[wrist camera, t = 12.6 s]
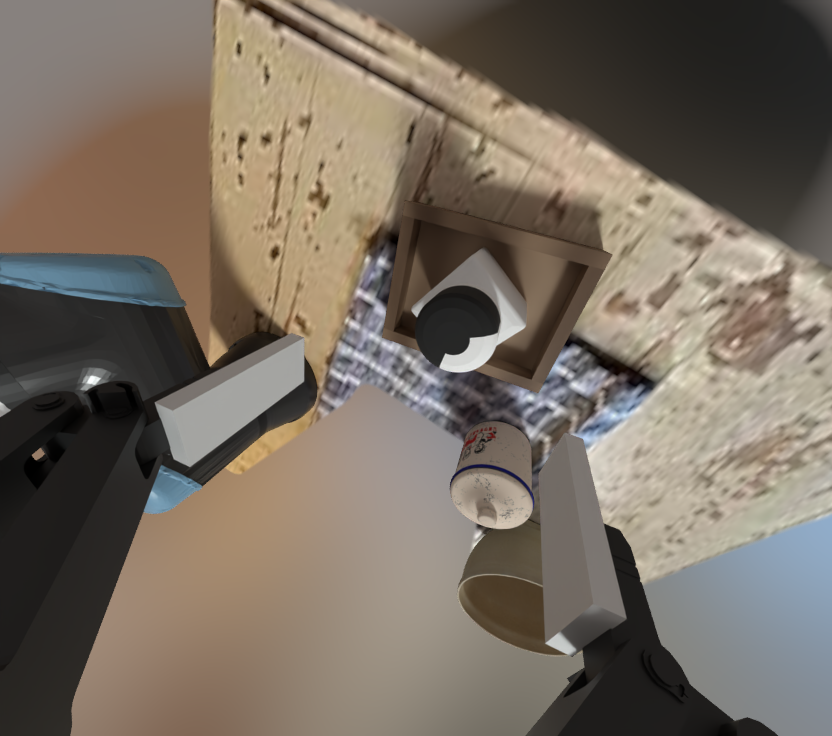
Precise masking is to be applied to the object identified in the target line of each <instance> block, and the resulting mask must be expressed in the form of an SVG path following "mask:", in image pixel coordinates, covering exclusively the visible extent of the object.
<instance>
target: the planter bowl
mask: <svg viewBox="0 0 832 736" xmlns="http://www.w3.org/2000/svg"><path fill="white" fill-rule="evenodd" d="M457 597H458V601H459V603H460V606H461V607H462V609H463V611H464V612H465V613H466V615H467V616H468V617H469V618H470V619H471V620H472V621H473V622H475V623H476V624H477V625H478V626H479V627H480V628H482V629H483V630H484V631H486V632H487V633H489V634H490V635H492V636H493V637H495V638H497V639H499V640H500V641H503V642H504V643H507V644H509V645H511V646H514V647H517V648H520V649H522V650H525V651H529V652H532V653H536V654H541V655H547V656H569V655H567V654H565V653H563V652H561V651H559V650H557V649H555V648H553V647H551V646H549V645H547V644H545V625H544V600H543V575H542V550H541V525H539V524H537V523H535V522H532V521H529V520H526V521H525V522H524V523H523V524H521V525H519V526H517V527H514V528H509V529H494V528H492V531H490V532H489V533H488V534H486V535H485V536H484V537H483V538H482V539H481V540H480V541H479V542H478V543H477V545H476V546H475V547H474V549H473V551H472V552H471V554H470V556H469V558H468V560H467V563H466V565H465V569H464V572H463V576H462V579H461V580H460V583H459V586H458V591H457ZM582 652H583V650H581V651H580V652H578V653H577V654H580V653H582Z"/></svg>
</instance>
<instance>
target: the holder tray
mask: <svg viewBox="0 0 832 736" xmlns="http://www.w3.org/2000/svg"><path fill="white" fill-rule="evenodd" d="M483 247H485V248H487V249H488V250H489V252H490V253H491V255H492V256H493V257H494V259H495V260H496V261H497V263H498V264H499V265H500V267H501V268H502V270H503V271H504V272H505V274H506V275H507V276H508V278H509V279H510V280H511V282H512V283H513V285H514V286H515V287H516V289H517V290H518V291H519V293H520V294H521V295H522V297H523V298H524V300H525V301H526V302H527V318H526V327H525V328H524V329H522V330H521V331H519V332H518V333H516V334H514V335H513V336H511V337H510V338H508V339H506V340H505V341H503V342H502V343H500V344H498V345H497V346H496V348H495V350H494V352H493V354H492V356H491V357H490V358H489V360H488V361H487V362H486V363H484V364H483V365H482V366H480V367H478V368H477V369H474V371H477V372H480V373H483V374H486V375H488V376H491V377H494V378H497V379H500V380H502V381H505V382H508V383H511V384H514V385H516V386H519V387H522V388H525V389H528V390H530V391H533V392H536V393H539V391H540V389H541V387H542V385H543V383H544V381H545V380H546V378H547V376H548V374H549V372H550V370H551V368H552V367H553V365H554V363H555V361H556V359H557V357H558V355H559V354H560V352H561V350H562V348H563V346H564V344H565V342H566V340H567V339H568V337H569V335H570V333H571V331H572V329H573V327H574V326H575V324H576V322H577V320H578V318H579V316H580V314H581V313H582V311H583V309H584V307H585V305H586V303H587V301H588V300H589V298H590V296H591V294H592V292H593V290H594V288H595V287H596V285H597V283H598V281H599V279H600V277H601V275H602V274H603V272H604V270H605V268H606V266H607V264H608V262H609V260H610V259H611V257H612V254H610V253H608V252H606V251H604V250H601V249H597V248H593V247H589V246H585V245H582V244H578V243H574V242H570V241H566V240H562V239H558V238H555V237H551V236H547V235H543V234H539V233H535V232H532V231H528V230H524V229H520V228H516V227H512V226H508V225H505V224H501V223H497V222H493V221H489V220H485V219H481V218H478V217H474V216H470V215H466V214H462V213H458V212H454V211H451V210H447V209H443V208H439V207H435V206H431V205H428V204H424V203H420V202H414V201H405V203H404V209H403V215H402V221H401V227H400V233H399V239H398V245H397V251H396V257H395V263H394V269H393V275H392V281H391V287H390V293H389V299H388V305H387V311H386V317H385V323H384V329H383V335H382V338H385V339H388V340H390V341H393V342H396V343H399V344H402V345H404V346H407V347H410V348H413V349H416V350H418V351H420V349H419V347H418V344H417V341H416V337H415V323H416V319H417V317H416V316H415V315H414V314H413V312H412V311H411V308H412V306H413V305H414V304H416V303H417V302H418V301H419V300H420V299H421V298H423V297H424V296H425V295H426V294H427V293H428V292H430V291H431V290H432V289H433V288H434V287H435V286H437V285H438V284H439V283H440V282H441V281H442V280H444V279H445V278H446V277H447V276H448V275H449V274H451V273H452V272H453V271H454V270H455V269H456V268H458V267H459V266H460V265H461V264H462V263H463V262H465V261H466V260H467V259H468V258H469V257H470V256H472V255H473V254H475V253H476V252H477V251H479V250H480V249H481V248H483Z"/></svg>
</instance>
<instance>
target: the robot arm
mask: <svg viewBox="0 0 832 736" xmlns="http://www.w3.org/2000/svg"><path fill="white" fill-rule="evenodd" d="M184 306H186V303H185V301H184V300H183V299H181V297H180V295H179V293H178V291H177V289H176V287H175V285H174V283H173V280H172V278H171V276H170V275H169V272H168V271H167V270H166V268H165V267H164V266H163V265H162V264H160V263H159V262H157V261H156V260H153V259H151V258H148V257H145V256H136V255H116V254H79V253H78V254H77V253H0V736H70V734H71V728H72V715H71V714H72V713H71V708H72V702H73V699H74V695H75V692H76V689H77V687H78V684H79V681H80V679H81V676H82V674H83V671H84V668H85V666H86V663H87V660H88V658H89V655H90V652H91V650H92V647H93V644H94V641H95V639H96V636H97V634H98V631H99V628H100V626H101V623H102V620H103V618H104V615H105V612H106V610H107V607H108V605H109V602H110V599H111V597H112V594H113V591H114V588H115V586H116V583H117V581H118V578H119V575H120V572H121V570H122V567H123V565H124V562H125V559H126V557H127V554H128V551H129V549H130V546H131V544H132V541H133V538H134V535H135V533H136V530H137V527H138V525H139V522H140V520H141V517H142V514H143V512H145V513H151V514H157V513H163V512H166V511H168V510H170V509H172V508H174V507H175V506H176V505H178V504H179V503H180V502H182V501H183V500H184V499H186V498H187V497H188V496H190V495H191V494H192V493H194V492H195V491H198V490H200V489H201V488H202V486H203V485H205V484H206V483H207V482H208V481H209V480H210V479H212V478H213V477H214V476H215V475H216V474H218V473H219V472H220V471H221V470H222V469H223V468H225V467H226V466H227V465H228V464H229V463H230V462H232V461H233V460H234V459H235V458H236V457H237V456H239V455H240V454H241V453H242V452H243V451H245V450H246V449H247V448H248V447H249V446H250V445H252V444H253V443H254V442H255V441H256V440H257V439H259V438H260V437H261V436H262V435H264V434H265V433H266V432H268V431H270V430H273V429H275V428H277V427H280V426H282V425H284V424H286V423H290V422H293V421H296V420H298V419H300V418H301V417H302V416H304V415H305V414H306V413H307V412H308V411H309V410H310V409H311V408H312V407H313V406H314V404H315V401H316V398H317V385H316V380H315V377H314V374H313V372H312V370H311V368H310V366H309V364H308V363H307V361H306V360H305V358H304V337H301V336H298V335H295V334H293V333H291V334H289V335H287V336H285V337H283V338H281V337H279V336H276V335H274V334H270V333H266V332H256V333H252V334H250V335H248V336H245V337H243V338H241V339H239V340H237V341H236V342H235V343H234V344H233V345H232V346H231V347H230V348H229V350H228V352H226V353H225V354H224V355H222V356H221V357H220V358H219V359H218V360H217V361H216V362H215V363H214V364H213V365H212V366H211V367H209V364H208V362H207V360H206V357H205V355H204V352H203V350H202V348H201V345H200V343H199V341H198V338H197V336H196V333H195V331H194V329H193V327H192V324H191V322H190V319H189V317H188V315H187V312H186V310H185V308H184ZM39 448H42V450H43V451H44V453H45V455H44V456H43V457H41V458H40V459H38V460H35V459H34V458H33V457H32V454H33V453H35V451H37V450H38V449H39ZM538 475H539V500H540V525H541V550H542V575H543V600H544V625H545V644H547V645H549V646H551V647H553V648H555V649H557V650H559V651H561V652H563V653H565V654H567V655H569V656H572V657H573V656H574V655H576V654H577V653H578V652H580V651H581V650H583V658H584V666H585V668H583V669H581V670H580V671H578V672H577V673H575V674H573V675H572V676H570V677H568V678H567V679H568V680H569V682H570V683H569V684H568V685H567V687H566V688H565V689H564V690H563V691H562V693H561V694H560V695H559V696H558V697H557V699H556V700H555V701H554V702H553V703H552V705H551V706H550V707H549V708H548V709H547V711H546V712H545V713H544V714H543V716H542V717H541V718H540V719H539V720H538V722H537V723H536V724H535V725H534V726H533V728H532V729H531V730H530V731H529V732H528V734H527V735H526V736H778V735H777V734H776V733H775V732H773V731H772V730H770V729H769V728H768V727H766V726H765V725H764V724H762V723H761V722H759V721H756V720H753V719H750V718H748V717H747V718H743V719H740V720H736V721H734V720H733V719H732V718H730V717H729V716H728V715H727V714H725V713H724V712H723V711H722V710H720V709H719V708H718V707H717V706H715V705H714V704H713V703H712V702H710V701H709V700H708V699H707V698H705V697H704V696H703V695H702V694H700V693H699V692H698V691H697V690H696V689H695V688H693V687H692V686H691V685H690V684H689V681H688V680H687V678H686V676H685V674H684V672H683V670H682V668H681V666H680V665H679V664H678V662H677V661H676V660H675V659H674V657H673V656H672V655H671V653H670V652H669V651H667V650H666V649H665V648H664V647H663V646H662V645H661V643H660V640H659V638H658V635H657V631H656V628H655V625H654V621H653V618H652V615H651V612H650V609H649V605H648V602H647V599H646V595H645V592H644V589H643V586H642V582H640V576H639V573H638V569H637V568H636V567H635V566H636V563H635V560H634V556H633V553H632V550H631V547H630V545H629V544H628V542H627V541H626V539H625V538H624V536H623V534H622V533H621V531H620V530H618V529H616V528H613V527H611V526H609V525H606V524H604V523H603V519H602V515H601V511H600V507H599V503H598V499H597V495H596V490H595V486H594V482H593V478H592V474H591V470H590V466H589V462H588V458H587V453H586V449H585V445H584V441H583V439H581V438H579V437H576V436H573V435H570V434H568V433H564V434H563V436H562V438H561V439H560V441H559V442H558V444H557V445H556V447H555V449H554V450H553V452H552V453H551V455H550V456H549V458H548V460H547V461H546V463H545V464H544V466H543V467H542V469H541V471H540V472H539V474H538Z"/></svg>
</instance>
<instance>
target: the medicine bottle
mask: <svg viewBox="0 0 832 736" xmlns="http://www.w3.org/2000/svg"><path fill="white" fill-rule="evenodd" d="M411 311H412V312H413V314H414V315H415V316H416V317H417V319H416V323H415V337H416V341H417V344H418V347H419V349H420V351H421V352H422V354H423V355H424V356H425V357H426V359H427V360H429V361H430V362H431V363H432V364H434V365H435V366H437V367H439V368H441V369H443V370H446V371H450V372H468V371H472V370H474V369H477V368H478V367H480V366H482V365H483V364H484V363H486V362H487V361H488V360H489V358H490V357H491V356H492V354H493V352H494V350H495V348H496V346H497V345H498V344H500V343H502V342H503V341H505V340H506V339H508V338H510V337H511V336H513V335H514V334H516V333H518V332H519V331H521V330H522V329H524V328H525V327H526V318H527V302H526V301H525V300H524V298H523V297H522V295H521V294H520V293H519V291H518V290H517V289H516V287H515V286H514V285H513V283H512V282H511V280H510V279H509V278H508V276H507V275H506V274H505V272H504V271H503V270H502V268H501V267H500V265H499V264H498V263H497V261H496V260H495V259H494V257H493V256H492V255H491V253H490V252H489V250H488V249H487V248H485V247H483V248H481V249H480V250H479V251H477V252H476V253H475V254H473V255H472V256H470V257H469V258H468V259H467V260H466V261H465V262H463V263H462V264H461V265H460V266H459V267H458V268H456V269H455V270H454V271H453V272H452V273H451V274H449V275H448V276H447V277H446V278H445V279H444V280H442V281H441V282H440V283H439V284H438V285H437V286H435V287H434V288H433V289H432V290H431V291H430V292H428V293H427V294H426V295H425V296H424V297H423V298H421V299H420V300H419V301H418V302H417V303H416V304H414V305H413V306H412V308H411Z"/></svg>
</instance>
